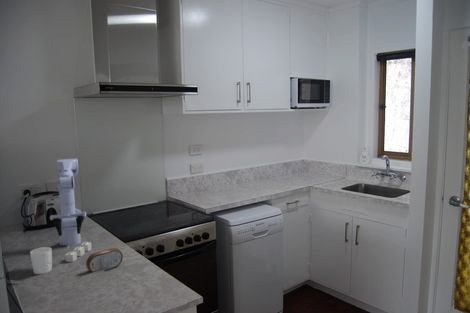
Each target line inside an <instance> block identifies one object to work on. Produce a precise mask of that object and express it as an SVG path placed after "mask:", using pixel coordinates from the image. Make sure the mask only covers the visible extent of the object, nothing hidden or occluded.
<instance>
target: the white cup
mask: <svg viewBox="0 0 470 313" xmlns="http://www.w3.org/2000/svg"><path fill="white" fill-rule="evenodd" d="M29 253H30V259H31V265H32V271H33V274H35V275H43V274H47V273H49V272H50V271H52V270H53V250H52V247H50V246H41V247H37V248H34V249H32V250H30V252H29Z"/></svg>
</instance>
